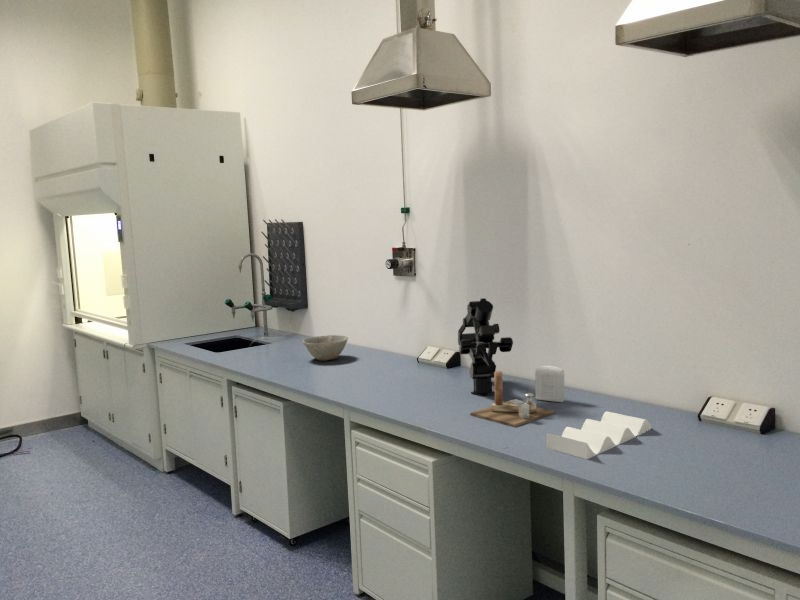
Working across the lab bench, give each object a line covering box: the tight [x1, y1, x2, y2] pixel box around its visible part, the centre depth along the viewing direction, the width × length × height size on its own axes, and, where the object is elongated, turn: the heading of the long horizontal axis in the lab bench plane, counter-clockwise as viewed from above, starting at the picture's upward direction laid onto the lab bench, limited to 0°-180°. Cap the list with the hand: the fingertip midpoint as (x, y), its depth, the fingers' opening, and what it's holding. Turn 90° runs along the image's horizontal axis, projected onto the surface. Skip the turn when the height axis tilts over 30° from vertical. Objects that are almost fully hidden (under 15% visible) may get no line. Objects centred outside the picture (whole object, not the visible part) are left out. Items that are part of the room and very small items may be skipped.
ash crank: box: [490, 370, 537, 413], centre depth 221 cm, size 15×4×13 cm, turn 76°
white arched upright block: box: [535, 365, 565, 403], centre depth 236 cm, size 10×4×12 cm, turn 60°
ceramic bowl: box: [301, 334, 349, 362], centre depth 324 cm, size 22×23×10 cm
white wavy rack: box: [545, 411, 653, 460], centre depth 194 cm, size 13×35×5 cm, turn 131°
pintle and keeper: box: [509, 392, 534, 419], centre depth 217 cm, size 8×7×6 cm
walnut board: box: [469, 400, 555, 428], centre depth 221 cm, size 19×20×1 cm
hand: (489, 365), depth 234 cm, fingers closed
